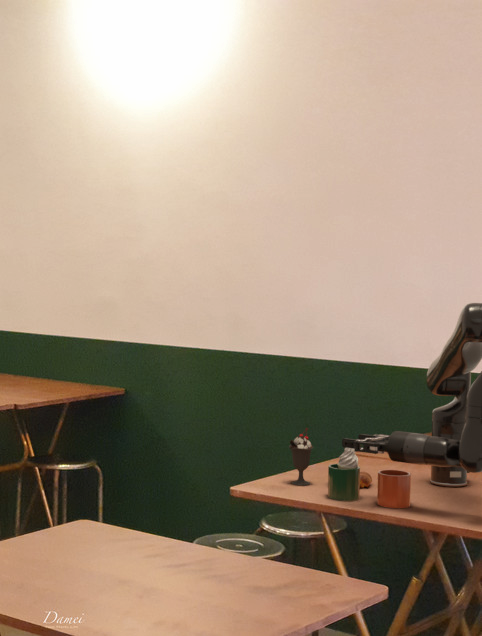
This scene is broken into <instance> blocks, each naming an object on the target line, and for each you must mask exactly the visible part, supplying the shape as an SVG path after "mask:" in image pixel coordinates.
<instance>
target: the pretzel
mask: <svg viewBox="0 0 482 636" xmlns="http://www.w3.org/2000/svg"><path fill="white" fill-rule="evenodd" d="M372 482H373V477H372V476H371V474H370V473H369V472H366V471H360V488H367V487H369V486H370V485H371V483H372Z"/></svg>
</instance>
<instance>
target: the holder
mask: <svg viewBox="0 0 482 636" xmlns="http://www.w3.org/2000/svg"><path fill="white" fill-rule="evenodd" d="M411 480H412V473H411V472H409V471H406V470H402V469H401V470H400V469H381V470H378V471H377V491H376V493H377V494H376V495H377V496H376V497H377V500H376V503H377V505H378V506H380V507H382V508H383V507H384V508H389V509H406V508H410V507H411V483H412V481H411Z"/></svg>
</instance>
